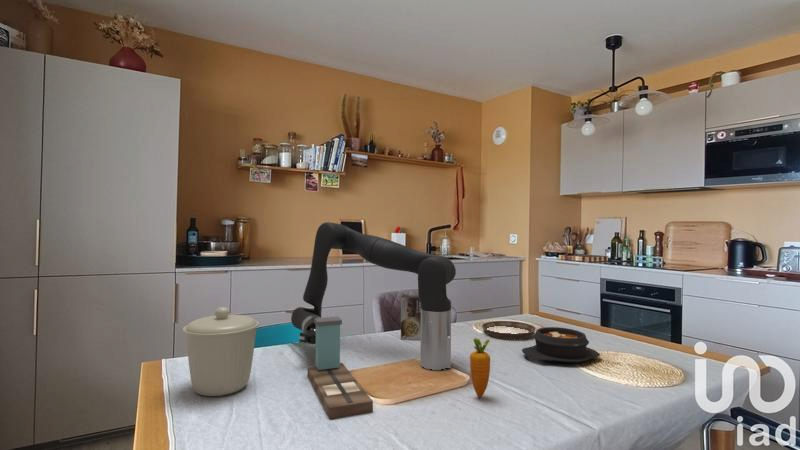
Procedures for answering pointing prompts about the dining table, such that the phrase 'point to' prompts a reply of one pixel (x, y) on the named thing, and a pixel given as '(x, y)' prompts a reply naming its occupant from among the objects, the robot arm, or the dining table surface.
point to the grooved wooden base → (339, 392)
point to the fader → (327, 342)
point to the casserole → (560, 346)
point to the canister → (220, 352)
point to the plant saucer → (509, 324)
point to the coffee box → (410, 317)
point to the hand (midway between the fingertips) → (326, 343)
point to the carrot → (480, 367)
